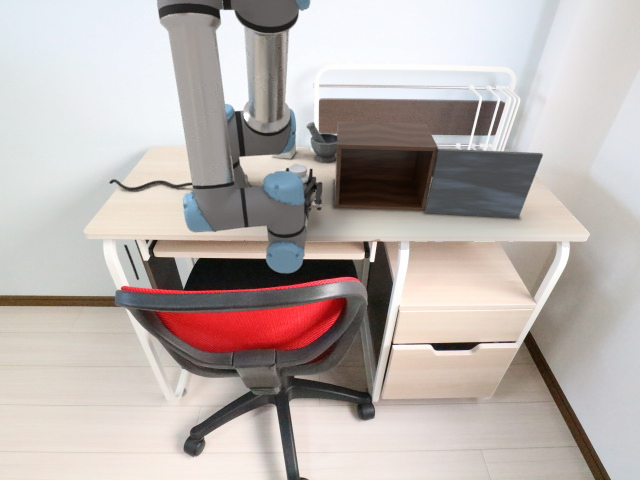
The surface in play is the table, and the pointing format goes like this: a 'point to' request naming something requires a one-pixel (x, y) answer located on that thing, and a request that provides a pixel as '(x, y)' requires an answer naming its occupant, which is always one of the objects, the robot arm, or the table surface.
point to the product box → (289, 154)
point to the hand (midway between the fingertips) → (299, 172)
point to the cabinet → (383, 165)
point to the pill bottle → (300, 173)
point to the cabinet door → (481, 182)
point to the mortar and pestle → (323, 144)
